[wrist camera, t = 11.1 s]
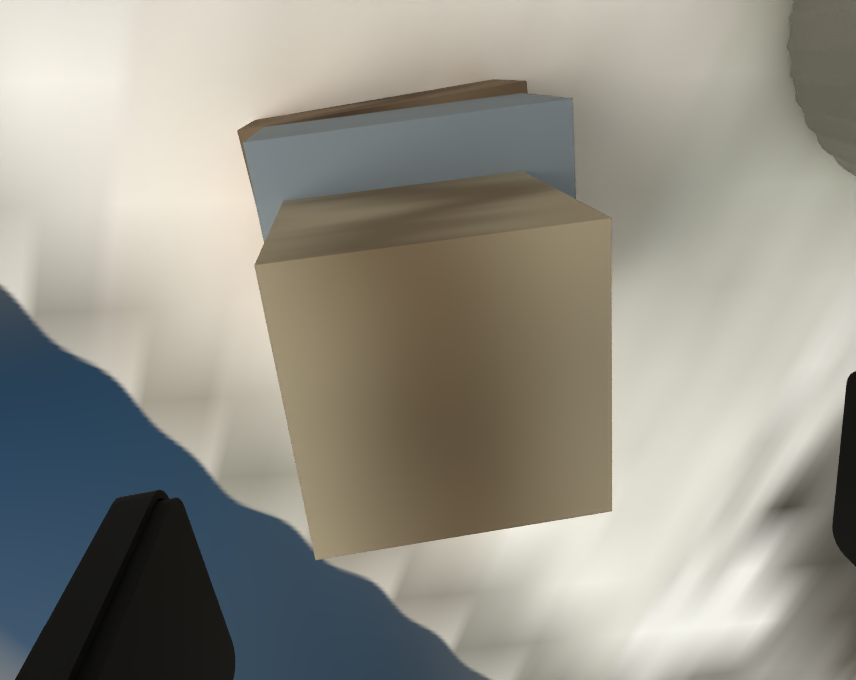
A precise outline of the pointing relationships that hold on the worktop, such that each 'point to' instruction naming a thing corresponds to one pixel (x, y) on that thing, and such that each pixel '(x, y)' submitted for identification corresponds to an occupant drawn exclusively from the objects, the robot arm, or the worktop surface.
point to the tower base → (391, 105)
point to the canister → (826, 73)
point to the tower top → (412, 149)
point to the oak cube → (442, 358)
